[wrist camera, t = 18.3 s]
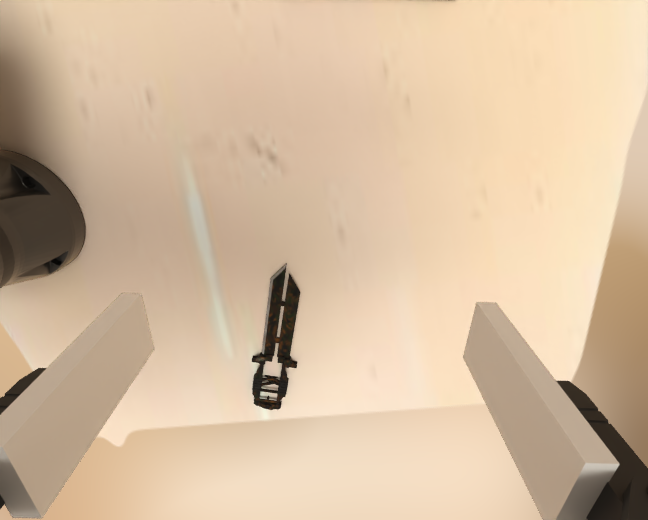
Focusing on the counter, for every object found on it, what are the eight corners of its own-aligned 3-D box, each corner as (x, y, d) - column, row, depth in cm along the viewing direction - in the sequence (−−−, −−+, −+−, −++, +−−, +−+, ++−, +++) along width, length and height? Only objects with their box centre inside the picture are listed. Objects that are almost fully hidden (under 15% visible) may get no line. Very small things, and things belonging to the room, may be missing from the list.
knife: (275, 258, 46) (274, 263, 44) (324, 270, 46) (324, 276, 45) (243, 397, 56) (241, 405, 55) (283, 406, 57) (282, 413, 56)
